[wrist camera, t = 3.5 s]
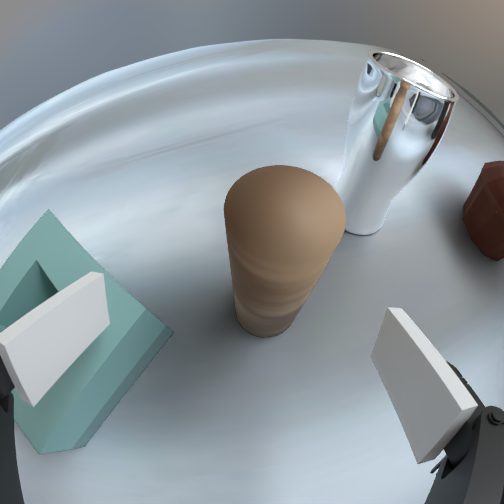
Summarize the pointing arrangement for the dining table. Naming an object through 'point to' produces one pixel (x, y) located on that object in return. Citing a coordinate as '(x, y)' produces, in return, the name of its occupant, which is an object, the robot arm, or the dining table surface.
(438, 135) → the beer glass
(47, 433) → the socket block
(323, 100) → the dining table surface
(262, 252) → the dowel pin
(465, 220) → the muffin
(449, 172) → the dining table surface
